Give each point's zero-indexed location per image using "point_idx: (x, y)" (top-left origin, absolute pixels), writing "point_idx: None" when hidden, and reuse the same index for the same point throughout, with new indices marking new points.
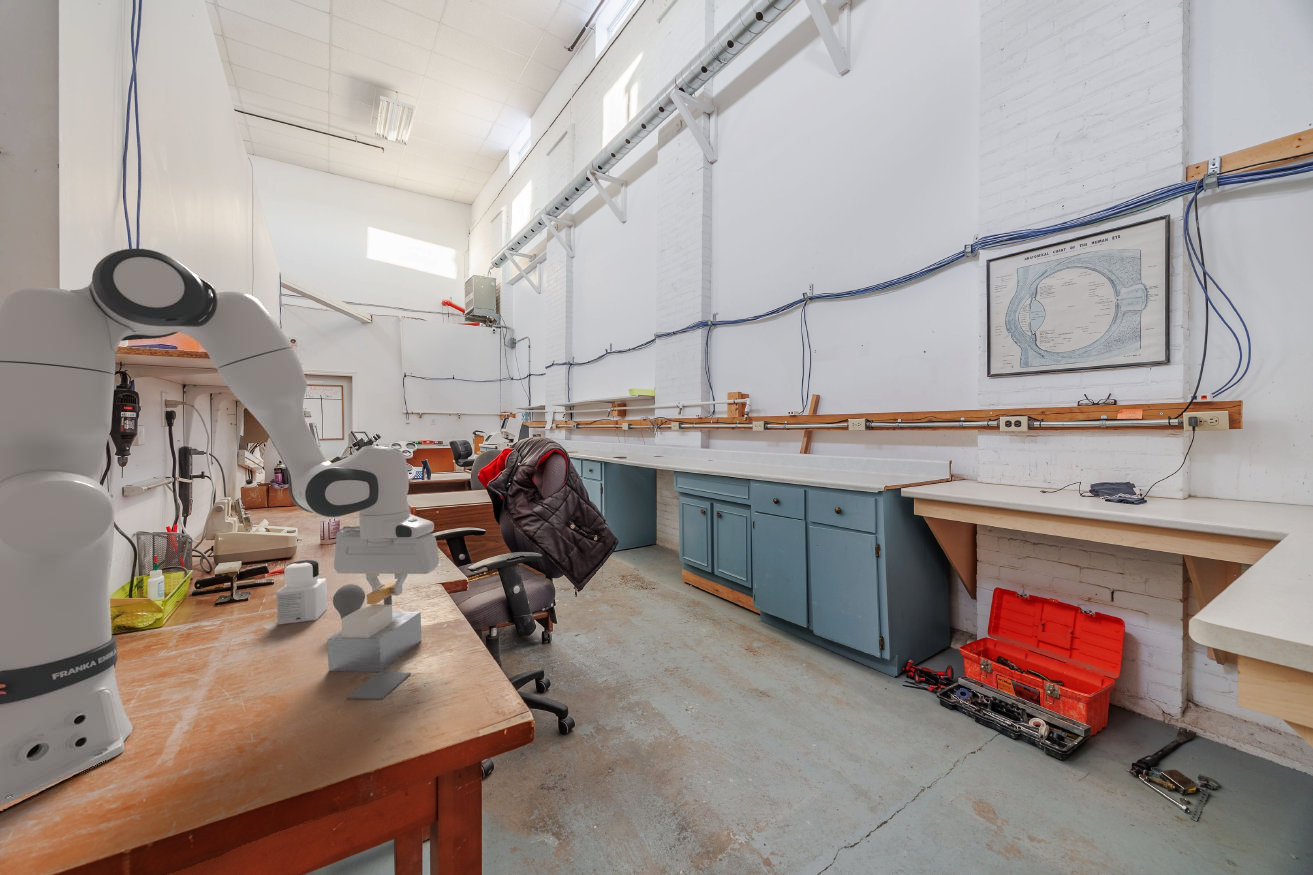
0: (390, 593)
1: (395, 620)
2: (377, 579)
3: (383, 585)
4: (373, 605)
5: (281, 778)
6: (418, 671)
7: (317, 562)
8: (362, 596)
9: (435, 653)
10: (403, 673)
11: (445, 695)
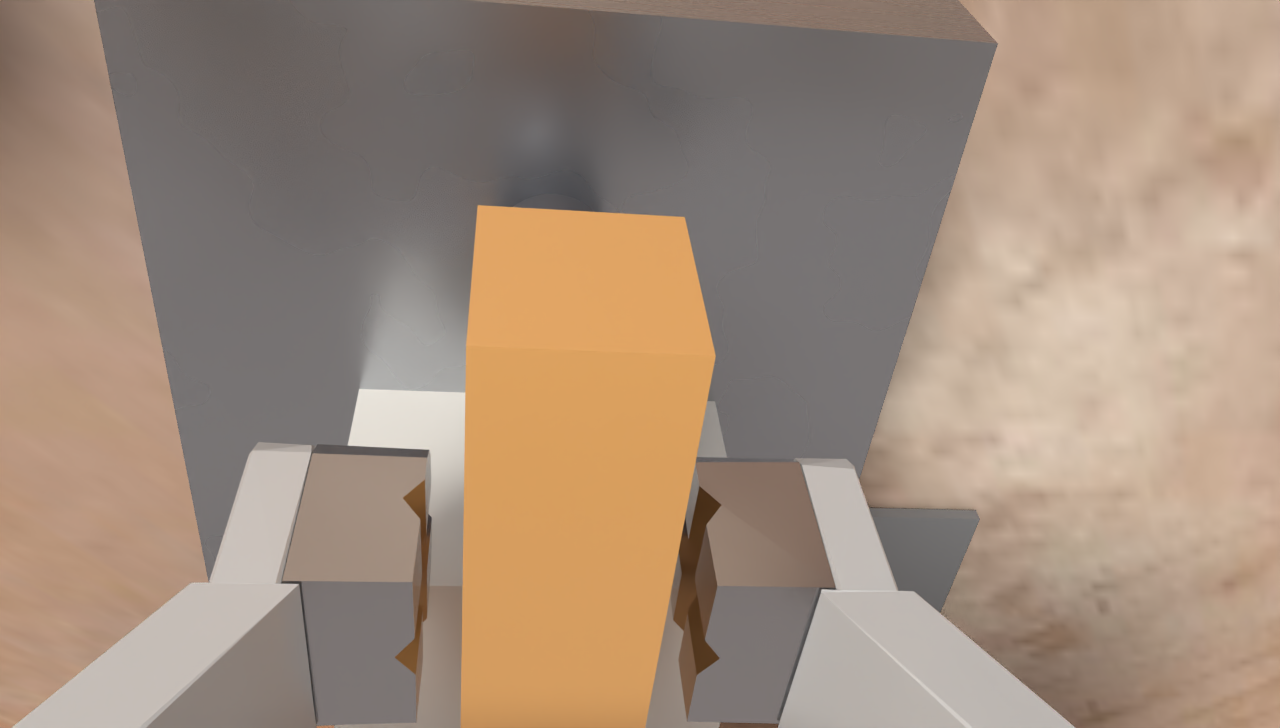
0: (680, 607)
1: (728, 351)
2: (192, 722)
3: (412, 597)
4: (460, 614)
5: None
6: (1019, 476)
7: None
8: None
9: (1099, 221)
10: (930, 528)
11: (1232, 670)
